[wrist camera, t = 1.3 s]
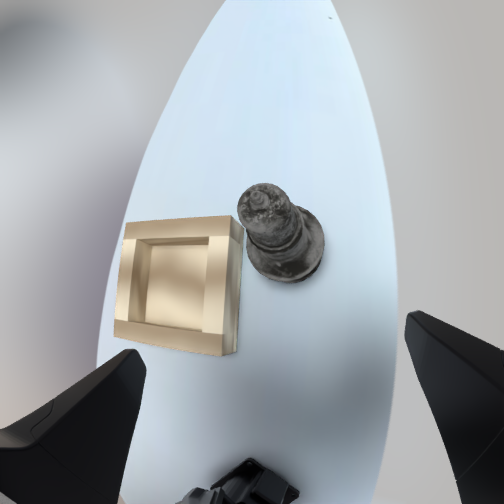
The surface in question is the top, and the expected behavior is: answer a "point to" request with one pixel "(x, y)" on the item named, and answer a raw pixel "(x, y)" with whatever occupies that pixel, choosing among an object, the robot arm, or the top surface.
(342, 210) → the top surface
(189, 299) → the shaker caddy
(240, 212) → the weathered stone finial
